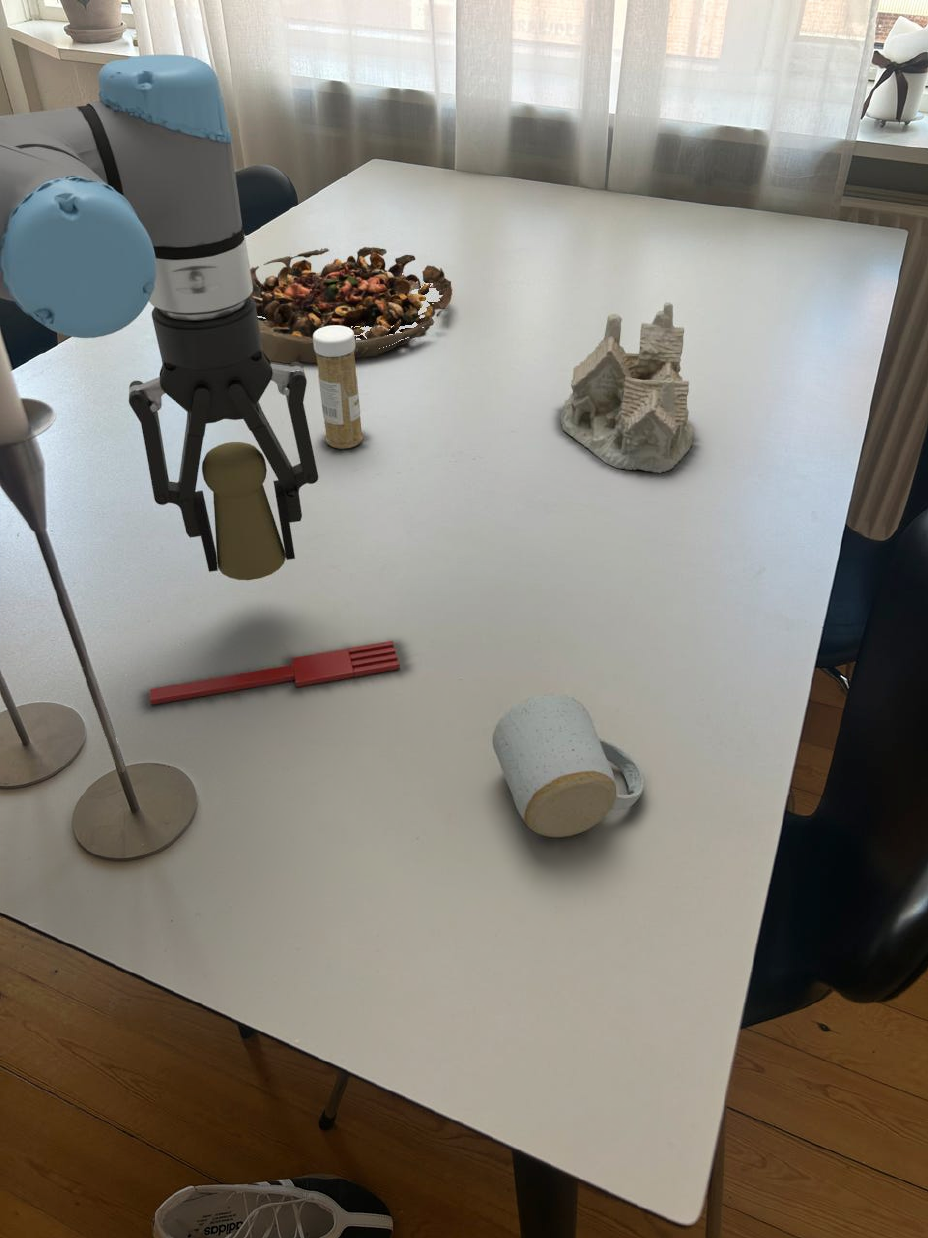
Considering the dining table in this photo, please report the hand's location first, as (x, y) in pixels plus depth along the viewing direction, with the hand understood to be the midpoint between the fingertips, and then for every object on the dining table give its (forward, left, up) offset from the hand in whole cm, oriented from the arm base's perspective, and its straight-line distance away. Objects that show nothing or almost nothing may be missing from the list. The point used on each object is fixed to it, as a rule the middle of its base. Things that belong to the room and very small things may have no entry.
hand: (251, 555), depth 85 cm
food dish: (-3, +69, -7) cm, 69 cm away
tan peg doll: (0, 0, -1) cm, 1 cm away
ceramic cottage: (+36, +34, -7) cm, 51 cm away
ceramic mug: (+27, -21, -7) cm, 35 cm away
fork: (+2, -9, -7) cm, 11 cm away
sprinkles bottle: (+3, +32, -7) cm, 33 cm away
